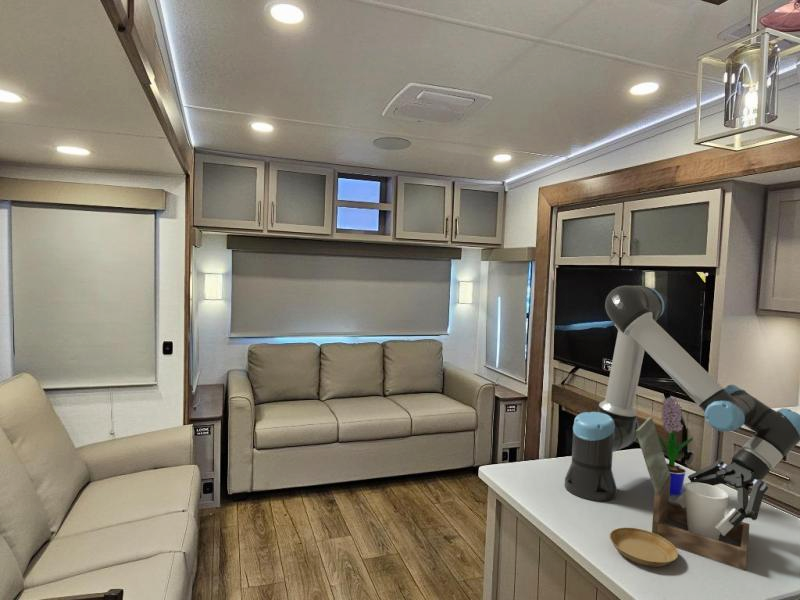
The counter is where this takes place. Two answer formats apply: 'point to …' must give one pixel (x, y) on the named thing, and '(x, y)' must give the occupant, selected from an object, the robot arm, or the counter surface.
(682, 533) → the cold frame
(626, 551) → the plant saucer
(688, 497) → the foam cup
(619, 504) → the counter surface
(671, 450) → the hyacinth
